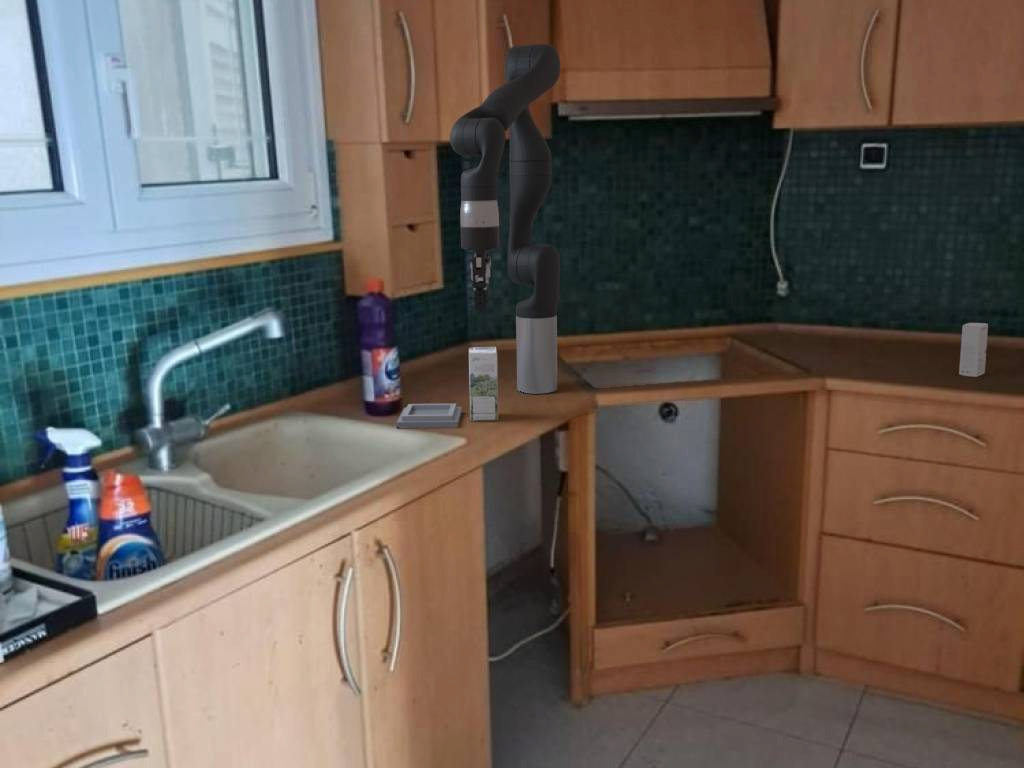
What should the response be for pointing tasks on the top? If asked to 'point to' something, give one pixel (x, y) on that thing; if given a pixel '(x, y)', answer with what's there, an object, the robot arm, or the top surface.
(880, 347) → the top surface
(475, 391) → the syrup box
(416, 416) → the base plate
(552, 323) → the robot arm
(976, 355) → the skincare box
